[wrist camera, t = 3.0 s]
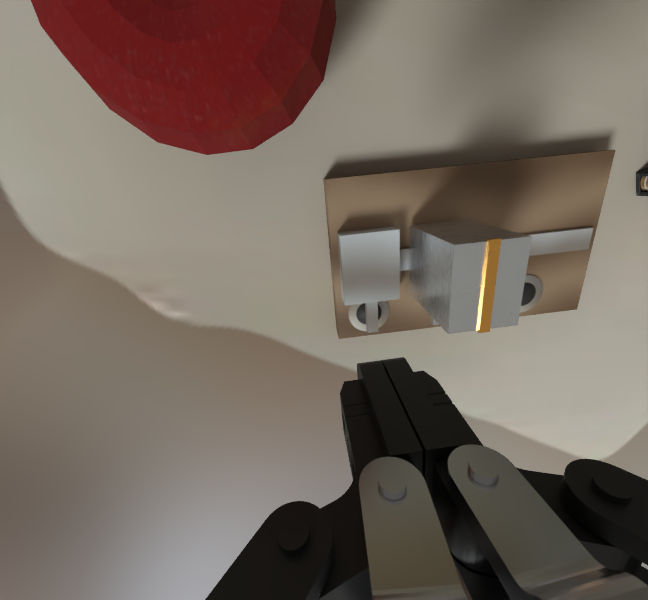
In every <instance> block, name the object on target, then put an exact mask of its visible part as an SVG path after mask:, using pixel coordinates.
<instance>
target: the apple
mask: <svg viewBox="0 0 648 600" xmlns="http://www.w3.org/2000/svg"><path fill="white" fill-rule="evenodd" d="M31 2H32V4H33V7H34V9H35V12H36V14H37V17H38V19H39V22H40V24H41V26H42V28H43V29H44V30H45V32H46V33H47V34H48V36H49V37H50V38H51V39H52V41H53V42H54V43H55V45H56V46H57V47H58V49H59V50H60V51H61V52H62V54H63V55H64V56H65V57H66V59H67V60H68V61H69V62H70V63H71V64H72V66H73V67H74V68H75V69H76V70H77V71H78V73H79V74H80V75H81V76H82V77H83V78H84V80H85V81H86V82H87V83H88V84H89V85H90V86H91V88H92V89H93V90H94V91H95V92H96V93H97V95H98V96H99V97H100V98H101V99H102V100H103V102H104V103H105V104H106V105H107V106H108V107H109V109H111V110H112V111H114V112H115V113H116V114H118V115H119V116H121V117H122V118H124V119H125V120H126V121H128V122H129V123H131V124H132V125H134V126H135V127H137V128H138V129H139V130H141V131H142V132H144V133H145V134H147V135H148V136H149V137H151V138H152V139H154V140H155V141H157V142H159V143H163V144H166V145H170V146H174V147H178V148H182V149H186V150H190V151H194V152H198V153H202V154H205V155H210V154H218V153H225V152H233V151H241V150H248V149H254V148H255V147H257V146H258V145H260V144H262V143H263V142H265V141H266V140H268V139H269V138H271V137H272V136H274V135H276V134H277V133H279V132H280V131H282V130H283V129H285V128H286V127H288V126H290V125H291V124H293V122H294V121H295V120H296V118H297V117H298V115H299V114H300V113H301V111H302V110H303V108H304V107H305V105H306V104H307V103H308V101H309V100H310V98H311V97H312V96H313V94H314V93H315V91H316V90H317V89H318V87H319V86H320V84H321V83H322V81H323V80H324V75H325V70H326V65H327V61H328V56H329V51H330V46H331V42H332V37H333V32H334V27H335V22H336V10H335V0H31Z"/></svg>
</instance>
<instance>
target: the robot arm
mask: <svg viewBox="0 0 648 600" xmlns="http://www.w3.org/2000/svg"><path fill="white" fill-rule="evenodd" d="M357 375H358V380H353V381H345V382H344V384H343V387H342V389H341V392H340V398H341V409H342V419H343V430H344V435H345V441H346V445H347V451H348V456H349V461H350V467H351V471H352V477H353V482H352V484H351V486H350V487H349V489H348V490H347V491H346V492H345V494H343V495H342V496H341V497H340V498H338V499H337V500H335V501H334V502H332V503H330V504H328V505H326V506H324V507H322V508H318V507H317V506H315V505H314V504H311V503H309V502H304V501H295V502H290V503H287V504H285V505H282V506H281V507H279V508H278V509H276V510H275V511H274V512H273V513H271V514H270V516H269V517H268V518H267V519H266V520H265V522H264V523H263V524H262V526H261V527H260V528H259V530H258V531H257V532H256V533H255V535H254V536H253V537H252V539H251V540H250V541H249V543H248V544H247V545H246V547H245V548H244V549H243V551H242V552H241V553H240V555H239V556H238V557H237V559H236V560H235V561H234V563H233V564H232V565H231V566H230V568H229V569H228V571H227V572H226V573H225V574H224V576H223V577H222V579H221V580H220V581H219V582H218V584H217V585H216V586H215V588H214V589H213V590H212V592H211V593H210V594H209V596H208V597H207V598H206V599H205V600H648V570H647V569H646V568H644V567H642V566H641V564H642V562H643V563H645V564H647V565H648V480H646V479H643V478H641V477H639V476H636V475H634V474H632V473H630V472H627V471H625V470H623V469H620V468H618V467H616V466H613V465H611V464H608V463H605V462H601V461H598V460H592V459H579V460H575V461H572V462H571V463H569V464H568V465H567V467H566V469H565V473H564V476H563V475H555V474H549V473H542V472H534V471H528V470H523V469H519V468H516V467H515V466H514V465H513V464H512V463H511V462H510V461H509V460H508V459H507V458H506V457H505V456H503V455H502V454H500V453H498V452H497V451H495V450H493V449H490V448H488V447H485V446H483V445H482V443H481V442H480V441H479V439H478V438H477V436H476V435H475V433H474V432H473V431H472V429H471V428H470V426H469V425H468V424H467V422H466V421H465V419H464V418H463V417H462V415H461V414H460V412H459V411H458V409H457V408H456V407H455V405H454V404H452V401H451V400H450V398H449V397H448V395H447V394H445V391H444V390H443V388H442V387H441V385H440V384H439V383H438V381H437V380H436V379H435V378H433V377H432V376H430V375H429V374H427V373H426V372H424V371H418V372H413V371H412V369H411V367H410V366H409V364H408V362H407V361H406V359H405V358H404V357H402V358H395V359H387V360H381V361H373V362H366V363H358V364H357Z"/></svg>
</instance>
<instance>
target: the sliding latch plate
mask: <svg viewBox="0 0 648 600" xmlns="http://www.w3.org/2000/svg"><path fill="white" fill-rule="evenodd" d="M614 154H615V150H606V151H595V152H585V153H575V154H565V155H555V156H546V157H536V158H526V159H516V160H507V161H497V162H487V163H477V164H468V165H458V166H448V167H438V168H428V169H419V170H409V171H399V172H389V173H380V174H370V175H360V176H350V177H341V178H331V179H324V191H325V202H326V214H327V225H328V236H329V248H330V259H331V270H332V282H333V293H334V304H335V316H336V327H337V333H338V337H339V339H341V338H349V337H357V336H366V335H374V334H382V333H390V332H398V331H406V330H414V329H422V328H430V327H438V326H440V325H439V324H438V325H433V324H432V323H431V322H430V314H429V313H428V312H427V311H426V310H425V309H424V308H423V307H422V306H421V305H420V304H419V303H418V302H417V301H416V300H415V299H414V298H413V297H412V296H411V295H410V294H409V235H410V226H411V225H420V224H429V223H438V222H447V221H456V220H465V219H466V220H470V221H474V222H478V223H482V224H486V225H490V226H494V227H498V228H502V229H506V230H510V231H514V232H517V233H521V234H525V235H529V236H532V241H531V247H530V253H529V259H528V265H527V271H526V277H525V283H524V289H523V295H522V302H521V308H520V314H519V316H526V315H535V314H543V313H551V312H559V311H567V310H575V309H577V307H578V303H579V299H580V294H581V290H582V286H583V282H584V278H585V274H586V270H587V265H588V261H589V257H590V253H591V249H592V245H593V241H594V236H595V232H596V228H597V224H598V220H599V216H600V212H601V207H602V203H603V199H604V195H605V191H606V187H607V183H608V178H609V174H610V170H611V166H612V162H613V158H614Z"/></svg>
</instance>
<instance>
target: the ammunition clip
mask: <svg viewBox="0 0 648 600" xmlns="http://www.w3.org/2000/svg"><path fill="white" fill-rule="evenodd" d="M636 190H637V196H648V167H647V168H645V169H642V170H640V171H638V172H636Z"/></svg>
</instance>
